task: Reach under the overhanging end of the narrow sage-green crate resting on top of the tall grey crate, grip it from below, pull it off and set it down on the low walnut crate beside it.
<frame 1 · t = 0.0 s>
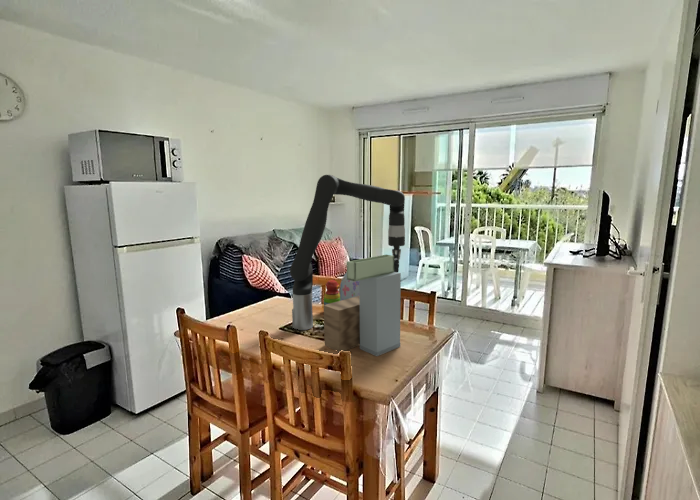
hand: (396, 270, 176), 29 cm above the table, tool pointing down, fingers open, 8 cm apart
stacking bear: (333, 312, 210), on the table
sage crate: (371, 275, 154), point 32 cm above the table, touching tall grey crate
low walnut crate: (352, 341, 169), on the table
lunch bag: (364, 322, 194), on the table
tall grey crate: (380, 347, 162), on the table
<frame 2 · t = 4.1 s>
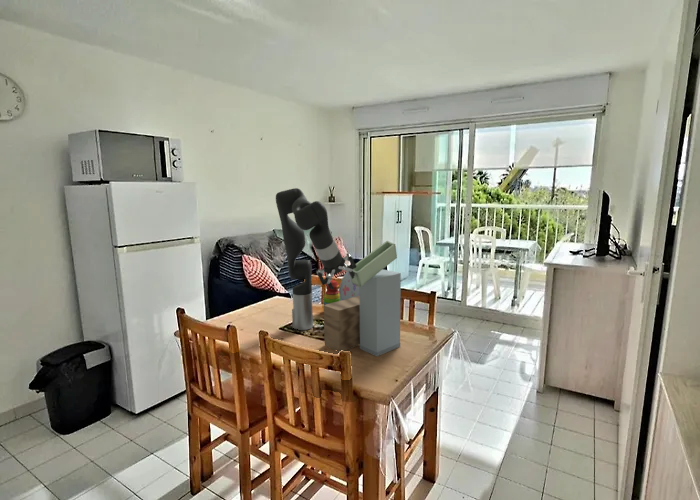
hand: (342, 282, 145), 32 cm above the table, tool tilted 35°, fingers open, 8 cm apart
sage crate: (375, 270, 154), point 34 cm above the table, tilted 28°, touching gripper, tall grey crate
everything else where it was.
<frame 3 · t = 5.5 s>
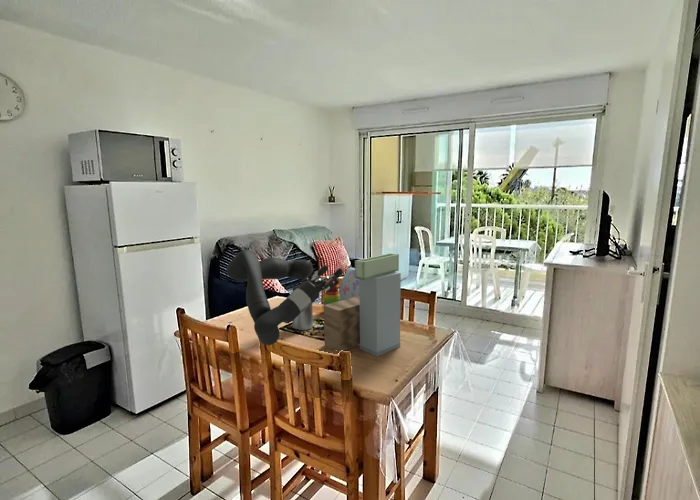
hand: (333, 268, 141), 38 cm above the table, tool pointing upward, fingers open, 8 cm apart
sage crate: (377, 274, 157), point 32 cm above the table, touching tall grey crate
everything else where it was.
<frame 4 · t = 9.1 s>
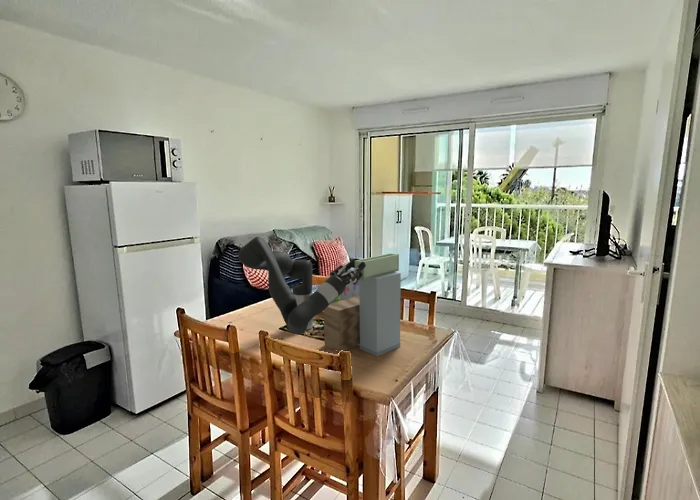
hand: (359, 262, 149), 38 cm above the table, tool pointing upward, fingers open, 5 cm apart
sage crate: (377, 274, 157), point 32 cm above the table, touching gripper, tall grey crate
everything else where it was.
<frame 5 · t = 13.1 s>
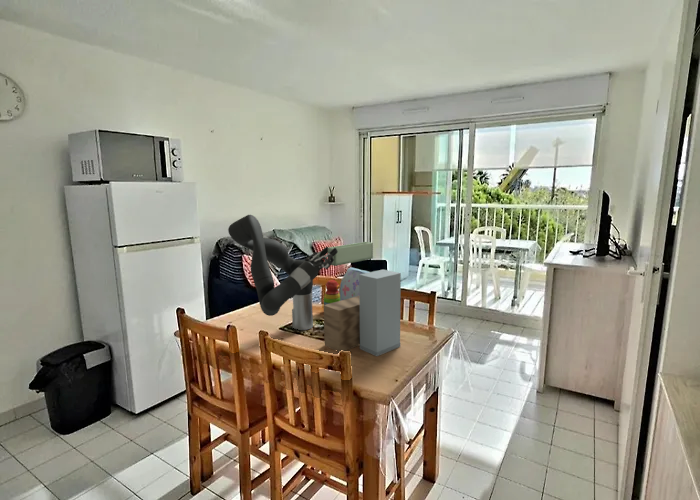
hand: (332, 249, 156), 42 cm above the table, tool pointing upward, fingers closed on sage crate, 4 cm apart
sage crate: (351, 261, 164), point 36 cm above the table, touching gripper
everything else where it was.
when the fingers open (26 cm above the table, at t = 16.8 s): sage crate drops 1 cm, resting on low walnut crate.
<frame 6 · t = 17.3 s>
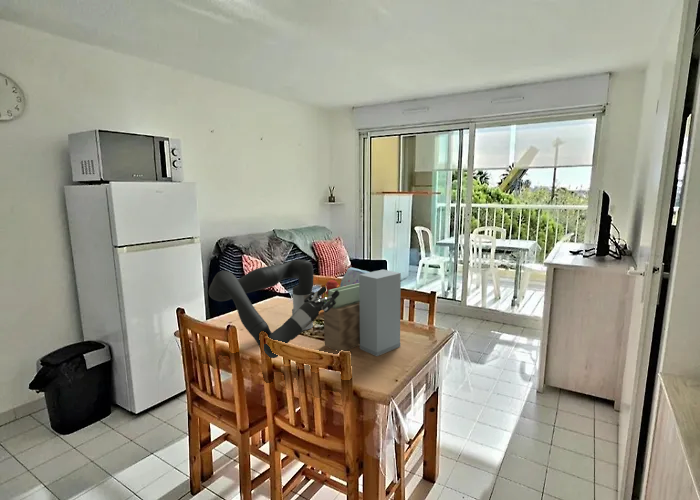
hand: (331, 289, 158), 26 cm above the table, tool pointing upward, fingers open, 8 cm apart
sage crate: (351, 302, 167), point 18 cm above the table, touching low walnut crate
everything else where it was.
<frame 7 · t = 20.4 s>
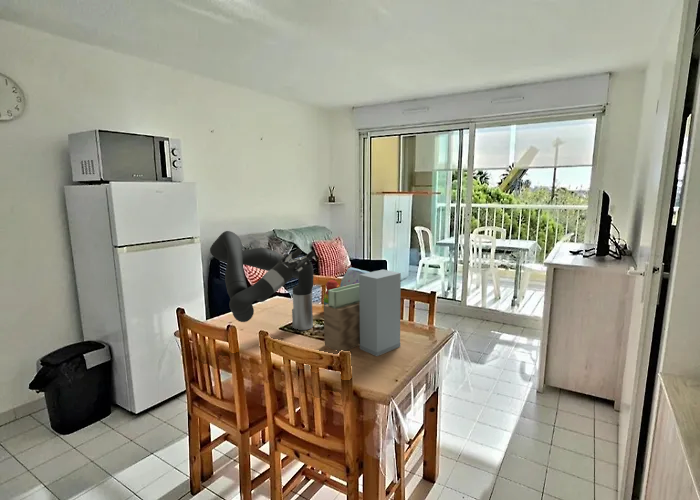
hand: (307, 251, 148), 43 cm above the table, tool pointing upward, fingers open, 8 cm apart
nothing on the table moved.
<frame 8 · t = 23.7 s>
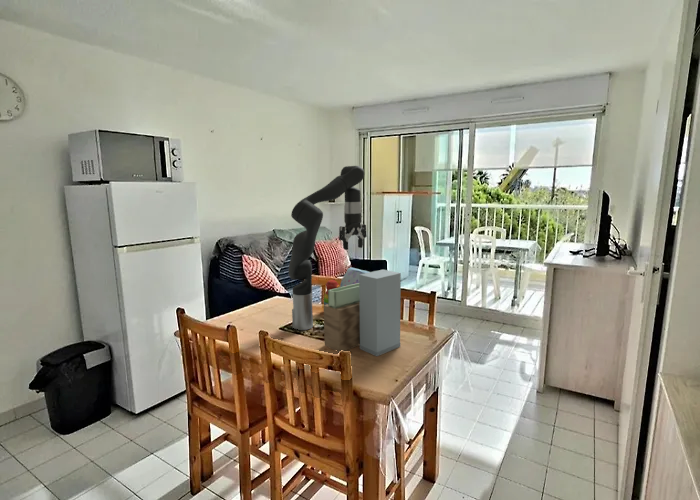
hand: (353, 248, 172), 40 cm above the table, tool pointing down, fingers open, 8 cm apart
nothing on the table moved.
at the end: sage crate inside the target area on the low walnut crate (1.5 cm from its centre), point 18.0 cm above the low walnut crate's base; sage crate tilted 0°; the gripper is holding nothing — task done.
